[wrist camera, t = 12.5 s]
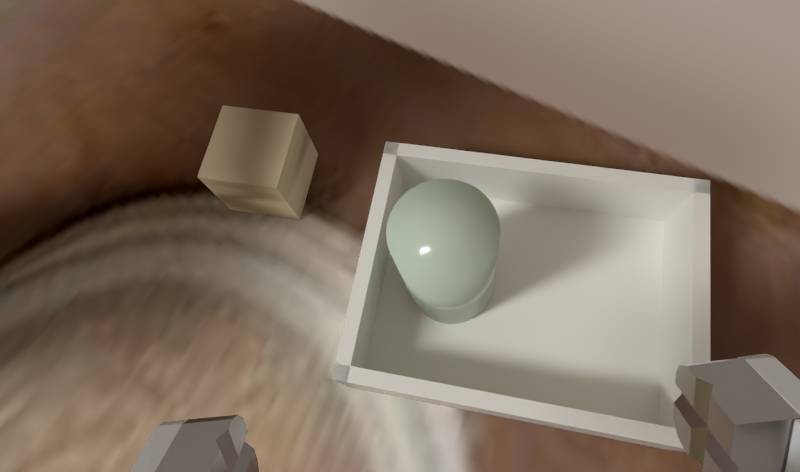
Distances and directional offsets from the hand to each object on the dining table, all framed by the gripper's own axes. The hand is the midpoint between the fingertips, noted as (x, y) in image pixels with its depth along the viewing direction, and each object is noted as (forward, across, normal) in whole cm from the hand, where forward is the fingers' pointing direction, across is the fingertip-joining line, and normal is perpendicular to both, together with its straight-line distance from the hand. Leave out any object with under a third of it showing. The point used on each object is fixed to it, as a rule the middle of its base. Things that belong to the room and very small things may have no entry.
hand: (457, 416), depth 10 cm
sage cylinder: (+20, -1, +8) cm, 22 cm away
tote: (+20, -4, +10) cm, 22 cm away
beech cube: (+27, +10, +2) cm, 29 cm away
